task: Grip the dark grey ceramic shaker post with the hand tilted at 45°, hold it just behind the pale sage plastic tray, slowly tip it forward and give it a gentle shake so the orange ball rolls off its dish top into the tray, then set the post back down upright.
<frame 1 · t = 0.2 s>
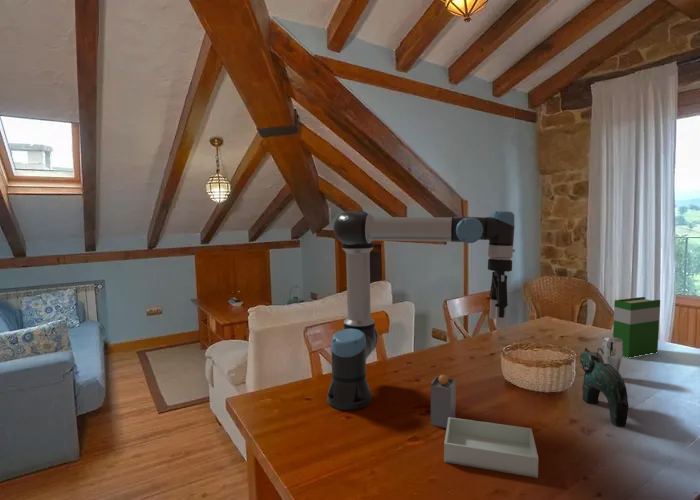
hand: (496, 323, 133), 27 cm above the table, tool pointing down, fingers open, 13 cm apart
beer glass: (610, 378, 154), on the table
tray: (488, 453, 107), on the table
ceramic cat: (603, 412, 128), on the table
hardback book: (634, 353, 179), on the table
ball: (443, 384, 122), point 12 cm above the table, touching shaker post
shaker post: (443, 422, 123), on the table, touching ball
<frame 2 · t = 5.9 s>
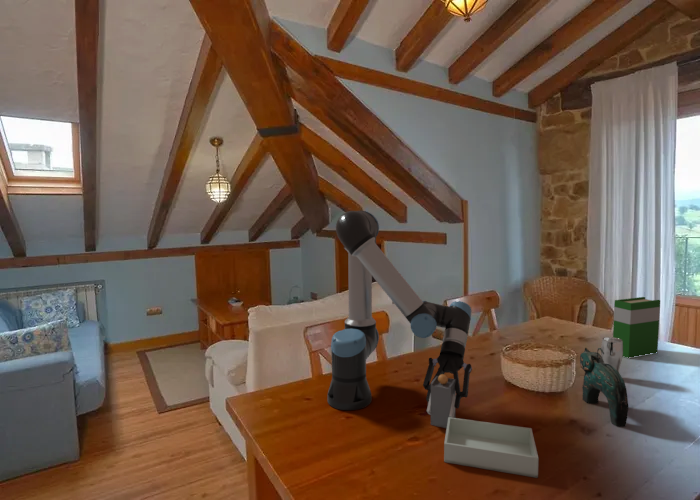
hand: (439, 415, 120), 4 cm above the table, tool tilted 45°, fingers closed on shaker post, 6 cm apart
ball: (443, 384, 122), point 12 cm above the table, tilted 10°, touching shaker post
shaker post: (443, 422, 123), on the table, touching ball, gripper
everything else where it was.
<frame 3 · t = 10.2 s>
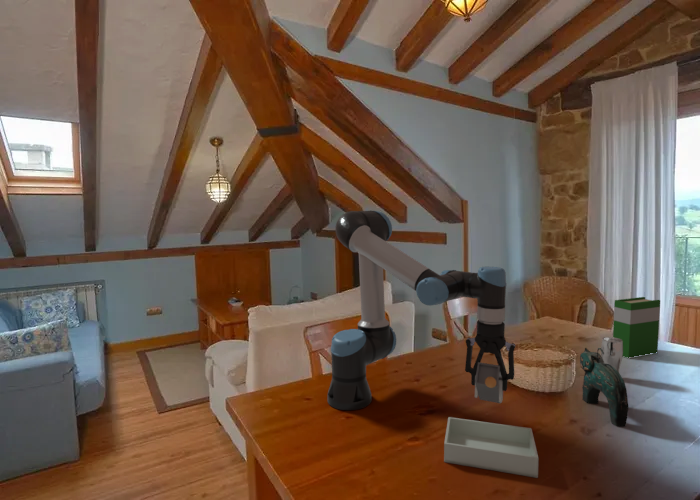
hand: (488, 398, 118), 9 cm above the table, tool pointing down, fingers closed on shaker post, 6 cm apart
ball: (488, 376, 112), point 18 cm above the table, tilted 140°
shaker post: (491, 391, 123), point 9 cm above the table, tilted 45°, touching gripper
everything else where it was.
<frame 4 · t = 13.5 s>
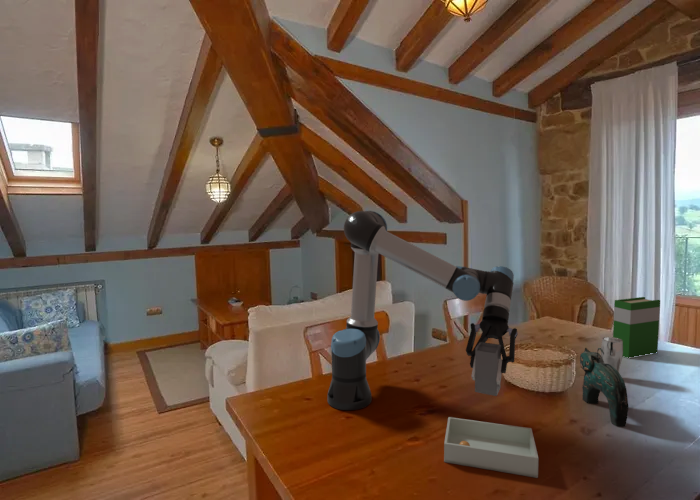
hand: (485, 380, 114), 16 cm above the table, tool tilted 45°, fingers closed on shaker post, 6 cm apart
ball: (462, 450, 105), point 2 cm above the table, tilted 78°, touching tray
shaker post: (487, 389, 117), point 12 cm above the table, touching gripper
everything else where it was.
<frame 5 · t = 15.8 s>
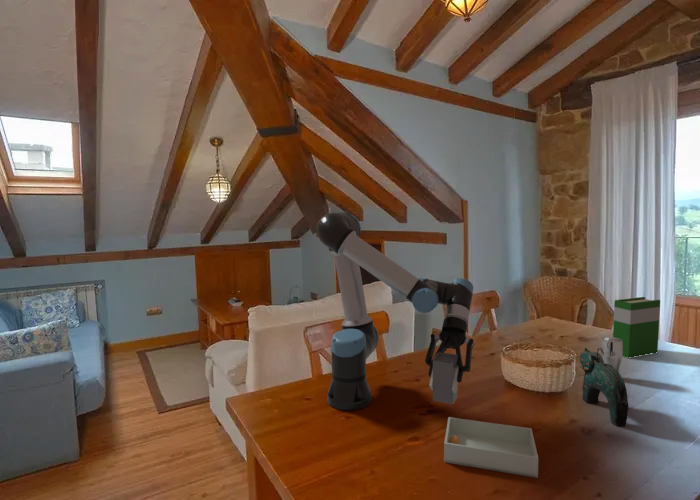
hand: (442, 389, 119), 12 cm above the table, tool tilted 45°, fingers closed on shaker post, 6 cm apart
ball: (451, 441, 108), point 3 cm above the table, tilted 111°, touching tray
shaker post: (445, 398, 122), point 8 cm above the table, touching gripper
everything else where it was.
when the fingers open (5 cm above the table, at t = 17.7 s): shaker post stays where it is, on the table.
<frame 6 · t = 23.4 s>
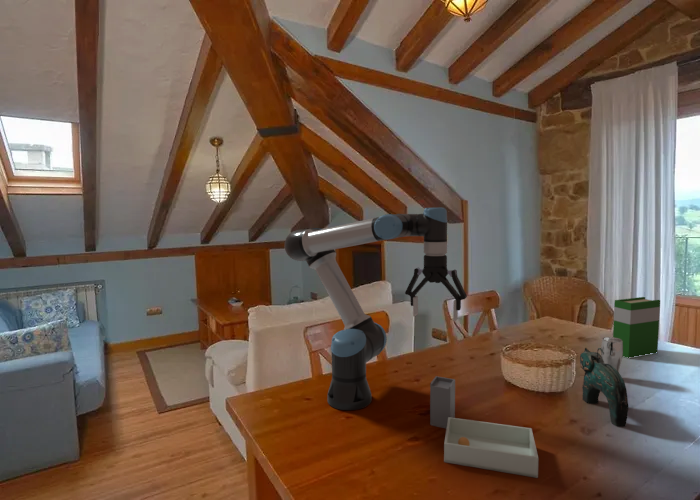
hand: (435, 317, 135), 29 cm above the table, tool pointing down, fingers open, 13 cm apart
ball: (465, 443, 107), point 3 cm above the table, tilted 117°, touching tray
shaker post: (442, 422, 123), on the table
everything else where it was.
at the end: ball inside the target area on the tray (6.0 cm from its centre), point 2.8 cm above the tray's base; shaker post tilted 0°; the gripper is holding nothing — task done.
